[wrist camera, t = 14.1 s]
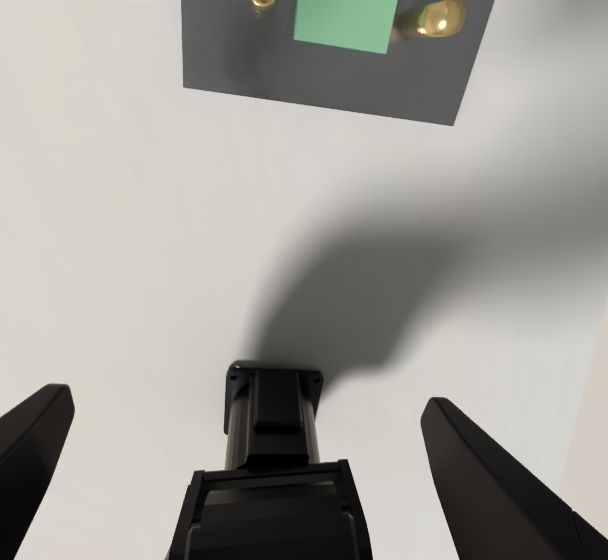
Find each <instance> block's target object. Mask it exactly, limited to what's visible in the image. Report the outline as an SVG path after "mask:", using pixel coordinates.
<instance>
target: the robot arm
mask: <svg viewBox="0 0 608 560" xmlns="http://www.w3.org/2000/svg"><path fill="white" fill-rule="evenodd" d="M232 375H236V376H232ZM314 378H317V379H314ZM322 385H323V374H322V373H321V372H320V371H307V370H279V369H251V368H231V369H229V370H228V371H227V375H226V392H225V415H224V433H225V434H226V435H228V441H227V451H226V462H225V470H220V471H207V472H205V470H198V471H194V474H193V477H192V481H191V484H190V485H188V488H187V491H186V495H185V498H184V502H183V505H182V509H181V512H180V516H179V519H178V523H177V526H176V530H175V533H174V537H173V540H172V544H171V546H170V548H169V551H168V553H167V555H166V557H165V560H373V557H372V549H371V543H370V537H369V532H368V528H367V524H366V520H365V516H364V513H363V509H362V506H361V503H360V499H359V496H358V493H357V489H356V486H355V483H354V479H353V476H352V473H351V469H350V466H349V463H348V460H347V459H341V460H338V461H337V462H324V463H320V459H319V451H318V444H317V436H316V429H315V421H314V419H315V415H316V410H317V406H318V402H319V398H320V393H321V389H322ZM74 413H75V407H74V403H73V399H72V394H71V390H70V387H69V386H68V385H67V384H47V385H45V386H44V387H42V388H41V389H40V390H38V391H37V392H35V393H34V394H33V395H31V396H30V397H28V398H27V399H25V400H24V401H23V402H21V403H20V404H18V405H17V406H16V407H14V408H13V409H11V410H10V411H9V412H7V413H6V414H4V415H3V416H1V417H0V560H14V558H15V556H16V554H17V552H18V550H19V547H20V545H21V543H22V541H23V539H24V537H25V535H26V533H27V531H28V529H29V527H30V525H31V522H32V520H33V518H34V516H35V514H36V512H37V510H38V508H39V506H40V504H41V502H42V499H43V497H44V495H45V493H46V491H47V489H48V486H49V484H50V482H51V479H52V477H53V474H54V471H55V468H56V466H57V463H58V460H59V457H60V454H61V452H62V449H63V446H64V443H65V440H66V437H67V435H68V432H69V429H70V426H71V423H72V421H73V418H74ZM421 429H422V433H423V437H424V442H425V446H426V451H427V455H428V459H429V464H430V468H431V473H432V477H433V480H434V484H435V487H436V491H437V494H438V497H439V500H440V503H441V506H442V509H443V512H444V515H445V518H446V521H447V524H448V527H449V530H450V533H451V536H452V539H453V542H454V545H455V548H456V551H457V554H458V557H459V560H608V539H606V538H605V537H604V536H603V535H602V534H600V533H599V532H598V531H597V530H596V529H595V528H594V527H592V526H591V525H590V524H589V523H588V522H587V521H586V520H584V519H583V518H582V517H581V516H580V515H579V514H578V513H577V512H575V511H572V508H571V507H570V506H568V505H567V504H566V503H565V502H564V501H563V500H562V499H561V498H559V497H558V496H557V495H556V494H555V493H554V492H553V491H551V490H550V489H549V488H548V487H547V486H546V485H545V484H544V483H542V482H541V481H540V480H539V479H538V478H537V477H536V476H535V475H533V474H532V473H531V472H530V471H529V470H528V469H527V468H525V467H524V466H523V465H522V464H521V463H520V462H519V461H518V460H516V459H515V458H514V457H513V456H512V455H511V454H510V453H508V452H507V451H506V450H505V449H504V448H503V447H502V446H501V445H499V444H498V443H497V442H496V441H495V440H494V439H493V438H492V437H490V436H489V435H488V434H487V433H486V432H485V431H484V430H482V429H481V428H480V427H479V426H478V425H477V424H476V423H475V422H473V421H472V420H471V419H470V418H469V417H468V416H467V415H465V414H464V413H463V412H462V411H461V410H460V409H459V408H458V407H456V406H455V405H454V404H453V403H452V402H451V401H450V400H448V399H447V398H444V397H432V398H430V399H429V401H428V403H427V405H426V407H425V410H424V412H423V414H422V416H421Z"/></svg>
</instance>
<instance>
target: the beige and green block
mask: <svg viewBox="0 0 608 560" xmlns="http://www.w3.org/2000/svg"><path fill="white" fill-rule="evenodd" d="M396 5H397V0H297V1H296V11H295V21H294V32H293V40H299V41H305V42H311V43H318V44H324V45H330V46H336V47H342V48H349V49H355V50H361V51H367V52H373V53H380V54H386V52H387V47H388V43H389V38H390V33H391V29H392V24H393V19H394V15H395V10H396Z"/></svg>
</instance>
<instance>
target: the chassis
mask: <svg viewBox="0 0 608 560" xmlns="http://www.w3.org/2000/svg"><path fill="white" fill-rule="evenodd" d="M296 1H297V0H181V12H182V52H183V87H184V88H191V89H198V90H205V91H212V92H219V93H226V94H233V95H240V96H247V97H254V98H261V99H268V100H275V101H282V102H289V103H296V104H303V105H309V106H316V107H323V108H330V109H337V110H344V111H351V112H358V113H365V114H372V115H379V116H386V117H393V118H400V119H407V120H414V121H421V122H428V123H435V124H441V125H448V126H453V125H454V122H455V119H456V116H457V113H458V110H459V107H460V104H461V101H462V98H463V95H464V92H465V89H466V85H467V82H468V79H469V76H470V73H471V70H472V67H473V64H474V61H475V58H476V55H477V52H478V49H479V46H480V43H481V40H482V37H483V34H484V30H485V27H486V24H487V21H488V18H489V15H490V12H491V9H492V6H493V3H494V0H397V5H396V10H395V15H394V19H393V24H392V29H391V33H390V38H389V43H388V47H387V52H386V54H380V53H373V52H367V51H361V50H355V49H349V48H342V47H336V46H330V45H324V44H318V43H311V42H305V41H299V40H293V32H294V21H295V11H296Z"/></svg>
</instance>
